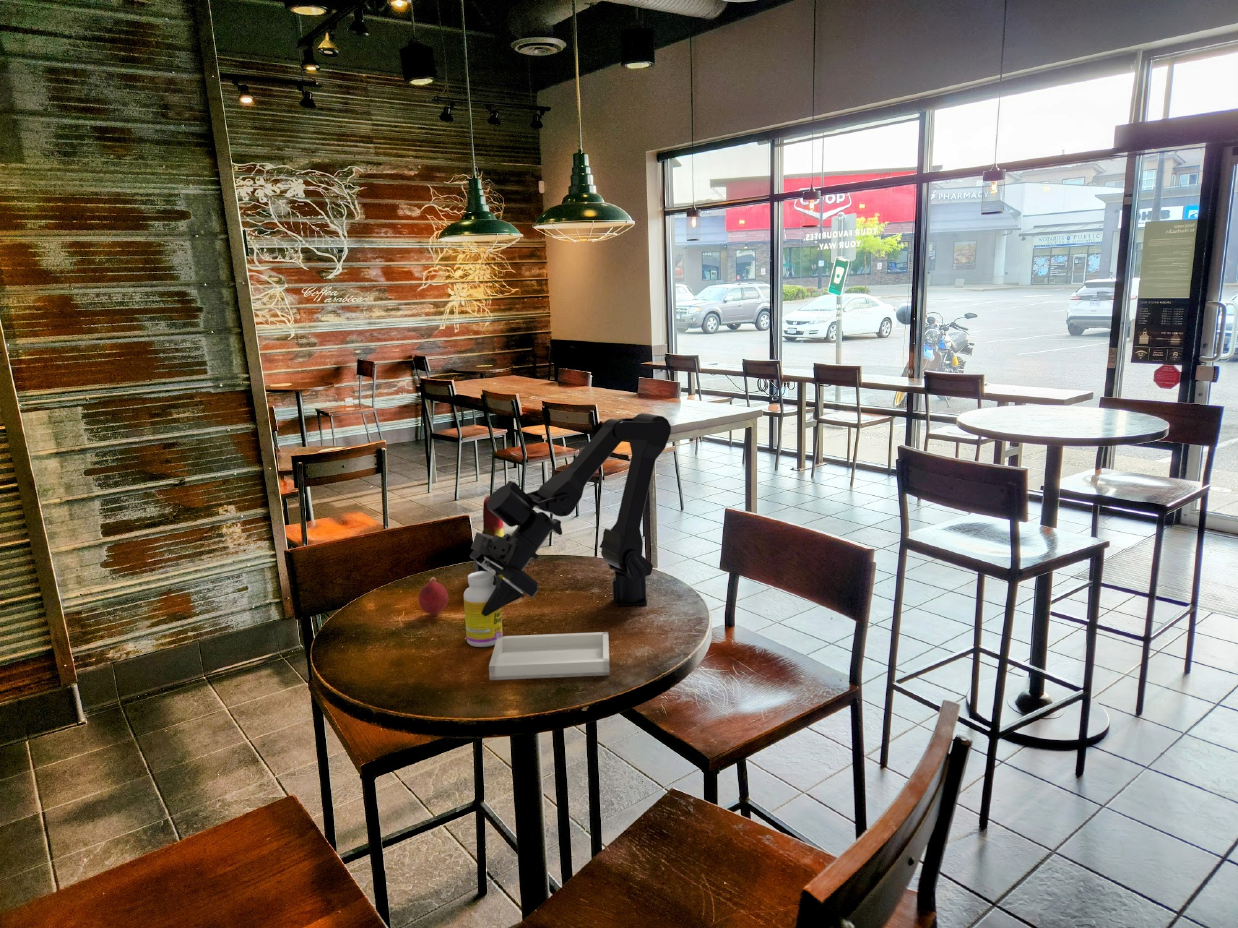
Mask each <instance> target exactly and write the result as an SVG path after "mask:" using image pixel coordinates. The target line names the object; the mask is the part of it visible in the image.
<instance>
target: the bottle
mask: <svg viewBox="0 0 1238 928" xmlns="http://www.w3.org/2000/svg"><path fill="white" fill-rule="evenodd" d="M490 496H491V495H489V496H488V495H487V497H485V498H484V500H483V506H482V507H483V508H482V509H483V510H482V519H483V521H482V522H483V523H482V524H483V526H482V527H483V529H482V532H481V533H482V534H486V535H489V536H493V537H494V536H495V535H497V536H500V537H503V536H504V535H505V534H506V533H505V531H504V522H503V521H502V520H501V519H500V518H498V517H497V516H496V515H495V514H493V513H492V512H491V511H490V510H489V509H488V508H487V502H488V500H489V498H490ZM494 576H495V577H496V575H494ZM498 577H500V578H502V579H503V580H504V579H505V578H504V577H503V575H501V574H500V575H498ZM495 586H496V585H495Z"/></svg>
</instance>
